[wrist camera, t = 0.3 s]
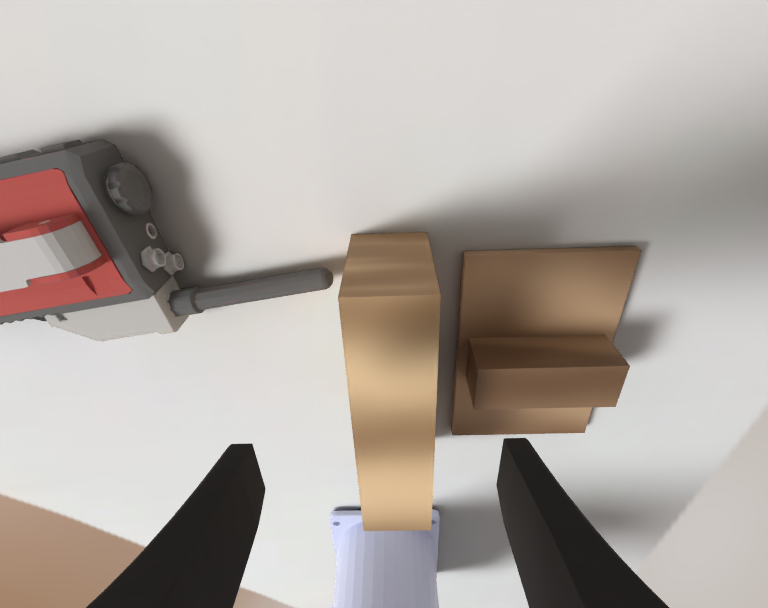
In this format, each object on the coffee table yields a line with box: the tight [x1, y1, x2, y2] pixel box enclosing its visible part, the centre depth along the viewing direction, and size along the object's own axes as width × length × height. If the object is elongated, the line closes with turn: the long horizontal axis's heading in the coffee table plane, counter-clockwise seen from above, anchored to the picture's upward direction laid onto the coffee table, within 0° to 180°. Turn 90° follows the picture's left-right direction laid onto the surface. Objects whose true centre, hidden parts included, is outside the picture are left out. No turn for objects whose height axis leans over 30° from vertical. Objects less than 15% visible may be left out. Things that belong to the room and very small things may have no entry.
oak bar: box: [338, 232, 441, 531], centre depth 20 cm, size 14×4×6 cm, turn 2°
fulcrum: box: [451, 246, 641, 435], centre depth 21 cm, size 12×8×3 cm, turn 2°
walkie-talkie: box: [0, 140, 333, 341], centre depth 18 cm, size 9×4×20 cm
